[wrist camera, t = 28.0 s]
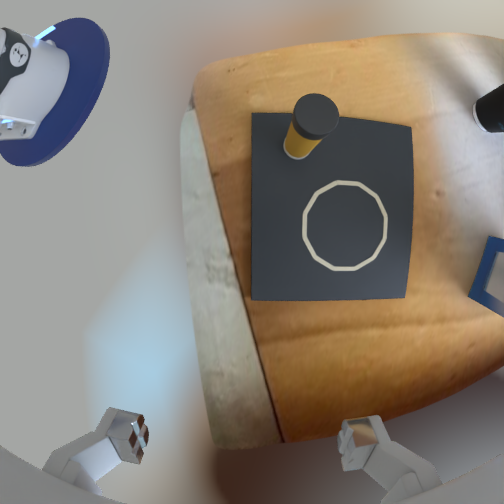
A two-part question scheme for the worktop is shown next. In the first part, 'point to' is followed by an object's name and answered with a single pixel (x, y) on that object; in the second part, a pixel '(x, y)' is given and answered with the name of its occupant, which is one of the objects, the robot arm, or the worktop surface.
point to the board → (331, 212)
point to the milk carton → (490, 277)
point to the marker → (310, 124)
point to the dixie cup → (490, 111)
